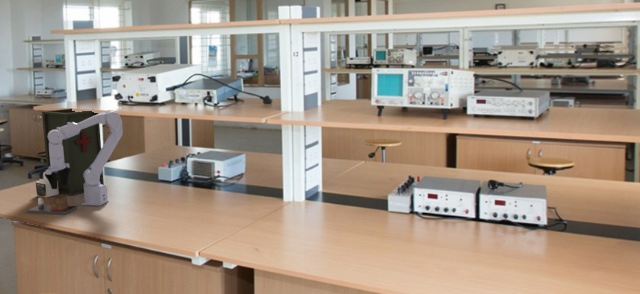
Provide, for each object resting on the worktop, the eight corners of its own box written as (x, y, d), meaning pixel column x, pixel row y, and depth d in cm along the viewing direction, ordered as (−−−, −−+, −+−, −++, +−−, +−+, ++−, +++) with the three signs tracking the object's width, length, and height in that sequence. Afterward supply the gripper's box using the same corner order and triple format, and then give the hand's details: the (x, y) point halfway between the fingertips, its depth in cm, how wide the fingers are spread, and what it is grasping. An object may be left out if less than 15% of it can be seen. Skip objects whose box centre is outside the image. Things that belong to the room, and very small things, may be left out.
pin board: (77, 208, 250) (76, 196, 249) (65, 214, 242) (64, 201, 241) (40, 207, 253) (39, 194, 252) (27, 212, 245) (26, 199, 244)
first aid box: (71, 195, 273) (65, 113, 266) (48, 190, 282) (41, 111, 276) (104, 187, 288) (98, 110, 282) (81, 183, 298) (75, 108, 291)
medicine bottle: (36, 196, 272) (34, 171, 270) (49, 192, 279) (47, 169, 277) (46, 197, 269) (44, 173, 267) (59, 194, 275) (57, 170, 273)
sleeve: (68, 207, 249) (67, 196, 248) (61, 210, 244) (60, 199, 243) (57, 206, 250) (56, 195, 249) (50, 209, 245) (49, 198, 244)
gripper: (58, 153, 257) (60, 182, 259) (38, 159, 243) (41, 190, 245) (72, 154, 256) (74, 183, 258) (53, 160, 242) (56, 191, 244)
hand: (59, 186), depth 252 cm, fingers open, 7 cm apart
